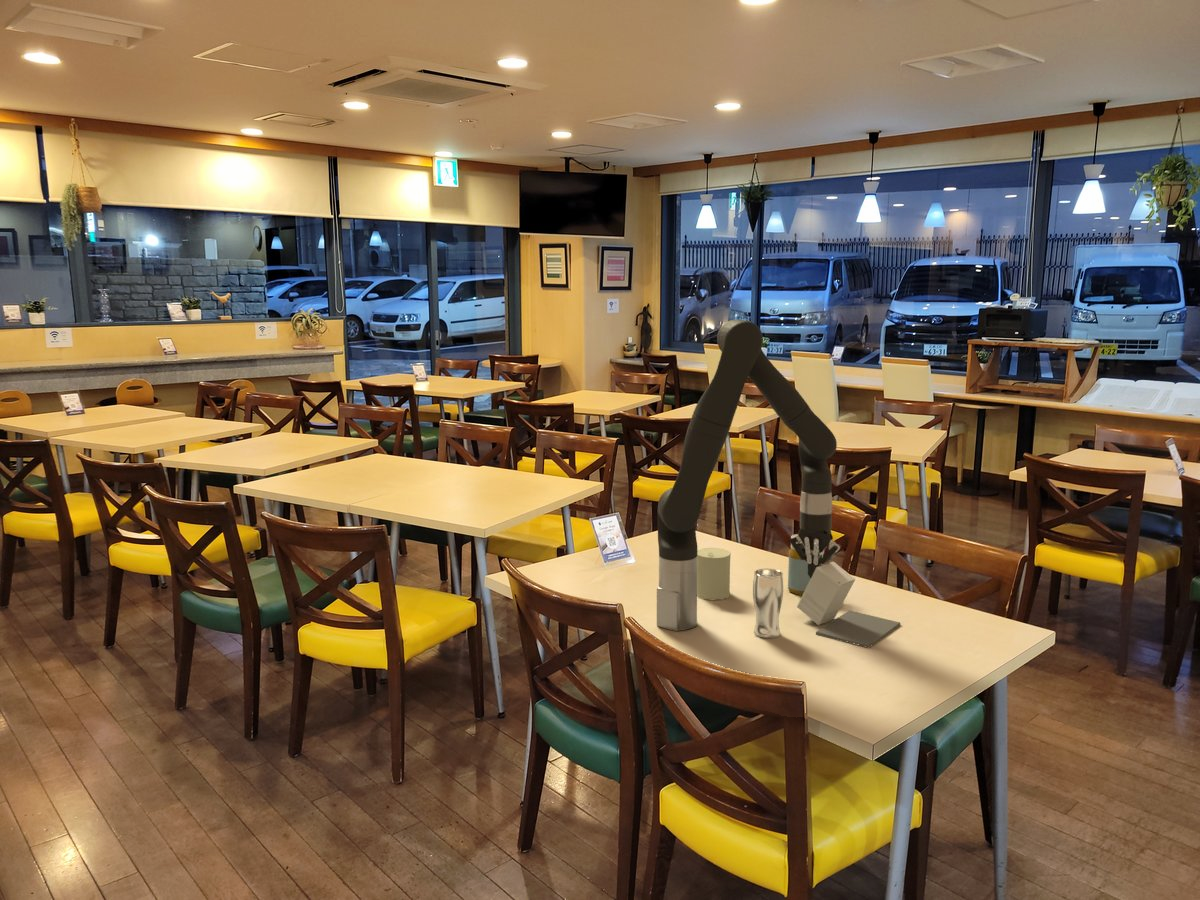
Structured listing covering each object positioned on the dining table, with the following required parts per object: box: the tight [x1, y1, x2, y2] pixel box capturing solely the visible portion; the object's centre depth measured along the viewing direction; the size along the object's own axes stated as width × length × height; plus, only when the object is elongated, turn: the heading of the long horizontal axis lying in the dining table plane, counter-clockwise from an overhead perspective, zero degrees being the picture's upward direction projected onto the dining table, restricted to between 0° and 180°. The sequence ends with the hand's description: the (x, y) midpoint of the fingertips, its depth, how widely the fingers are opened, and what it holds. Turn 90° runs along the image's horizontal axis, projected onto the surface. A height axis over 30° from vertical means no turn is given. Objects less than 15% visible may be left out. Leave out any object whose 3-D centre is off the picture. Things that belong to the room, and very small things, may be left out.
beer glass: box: [752, 567, 784, 639], centre depth 205 cm, size 7×7×15 cm
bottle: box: [787, 533, 811, 595], centre depth 234 cm, size 7×7×15 cm
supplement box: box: [796, 561, 856, 626], centre depth 212 cm, size 7×7×13 cm
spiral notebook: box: [815, 610, 901, 648], centre depth 208 cm, size 18×13×1 cm
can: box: [697, 547, 731, 601], centre depth 232 cm, size 9×9×12 cm
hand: (814, 578), depth 215 cm, fingers closed
